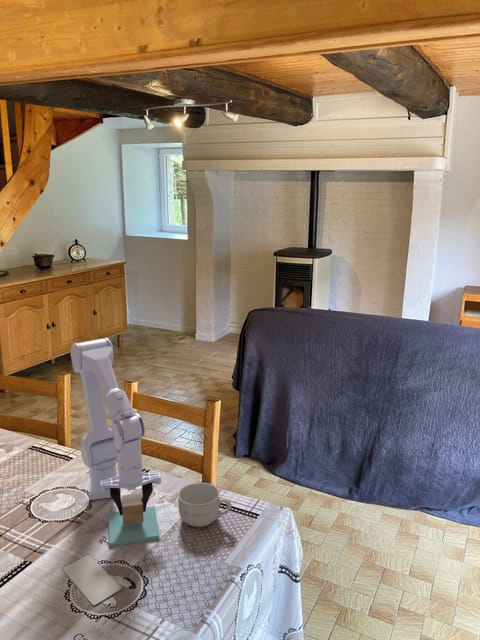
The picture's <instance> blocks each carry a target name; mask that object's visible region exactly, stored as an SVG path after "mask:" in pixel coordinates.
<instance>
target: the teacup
mask: <svg viewBox="0 0 480 640" xmlns="http://www.w3.org/2000/svg"><path fill="white" fill-rule="evenodd" d="M220 495H221V492H220V489H219V488H218V487H217V486H216V485H214V484H211V483H209V482H194V483H189V484H186V485H185V486H183V487H181V489H179V491H178V493H177V499H178V512H179V516H180V519H181V520H182V521H183V522H184V523H185V524H187V525H189V526H191V527H193V528H203V527H207V526H209V525H210V524H211V523H213V522H214V521H216V520H217V519H219V518H221V517H222V516H224V515H227V514H228V513H229V512H230V511H231V509H232V502H231V500H230V499H229V498H227V497H220ZM221 503H224V504H225V505H226V506H227V507H226V509H223V510H220V506H221Z"/></svg>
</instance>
